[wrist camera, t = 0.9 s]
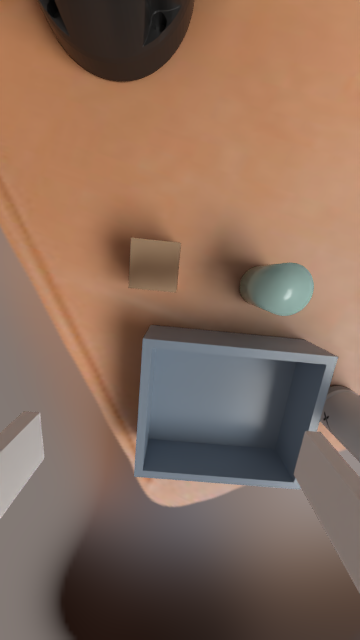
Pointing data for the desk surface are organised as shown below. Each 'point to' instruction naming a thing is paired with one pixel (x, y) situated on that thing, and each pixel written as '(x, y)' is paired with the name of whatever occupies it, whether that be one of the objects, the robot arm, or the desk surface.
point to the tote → (227, 405)
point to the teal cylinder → (278, 287)
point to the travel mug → (343, 417)
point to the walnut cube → (154, 265)
